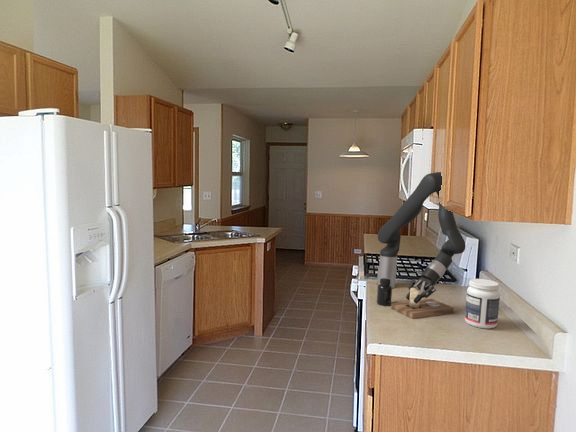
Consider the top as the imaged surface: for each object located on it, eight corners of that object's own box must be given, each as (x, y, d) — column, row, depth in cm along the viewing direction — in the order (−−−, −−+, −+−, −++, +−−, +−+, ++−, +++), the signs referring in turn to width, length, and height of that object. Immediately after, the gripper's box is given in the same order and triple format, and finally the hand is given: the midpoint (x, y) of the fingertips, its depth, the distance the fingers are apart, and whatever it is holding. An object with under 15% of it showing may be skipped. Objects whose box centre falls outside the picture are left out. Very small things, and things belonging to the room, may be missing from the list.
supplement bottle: (373, 302, 207) (375, 278, 206) (385, 301, 210) (386, 277, 208) (382, 306, 201) (383, 281, 199) (394, 305, 204) (395, 280, 202)
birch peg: (406, 307, 196) (408, 288, 195) (414, 306, 198) (415, 287, 197) (413, 310, 192) (415, 291, 191) (420, 309, 194) (422, 290, 193)
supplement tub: (493, 321, 187) (497, 279, 185) (500, 331, 175) (504, 287, 173) (462, 317, 190) (465, 276, 188) (466, 327, 178) (470, 284, 176)
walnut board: (391, 308, 199) (391, 303, 198) (431, 303, 209) (431, 298, 208) (412, 318, 186) (412, 312, 186) (453, 312, 196) (453, 307, 196)
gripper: (418, 263, 203) (396, 290, 199) (441, 271, 190) (417, 300, 186) (426, 273, 206) (404, 300, 202) (449, 281, 193) (426, 310, 189)
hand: (411, 300), depth 194 cm, fingers closed on birch peg, 4 cm apart
